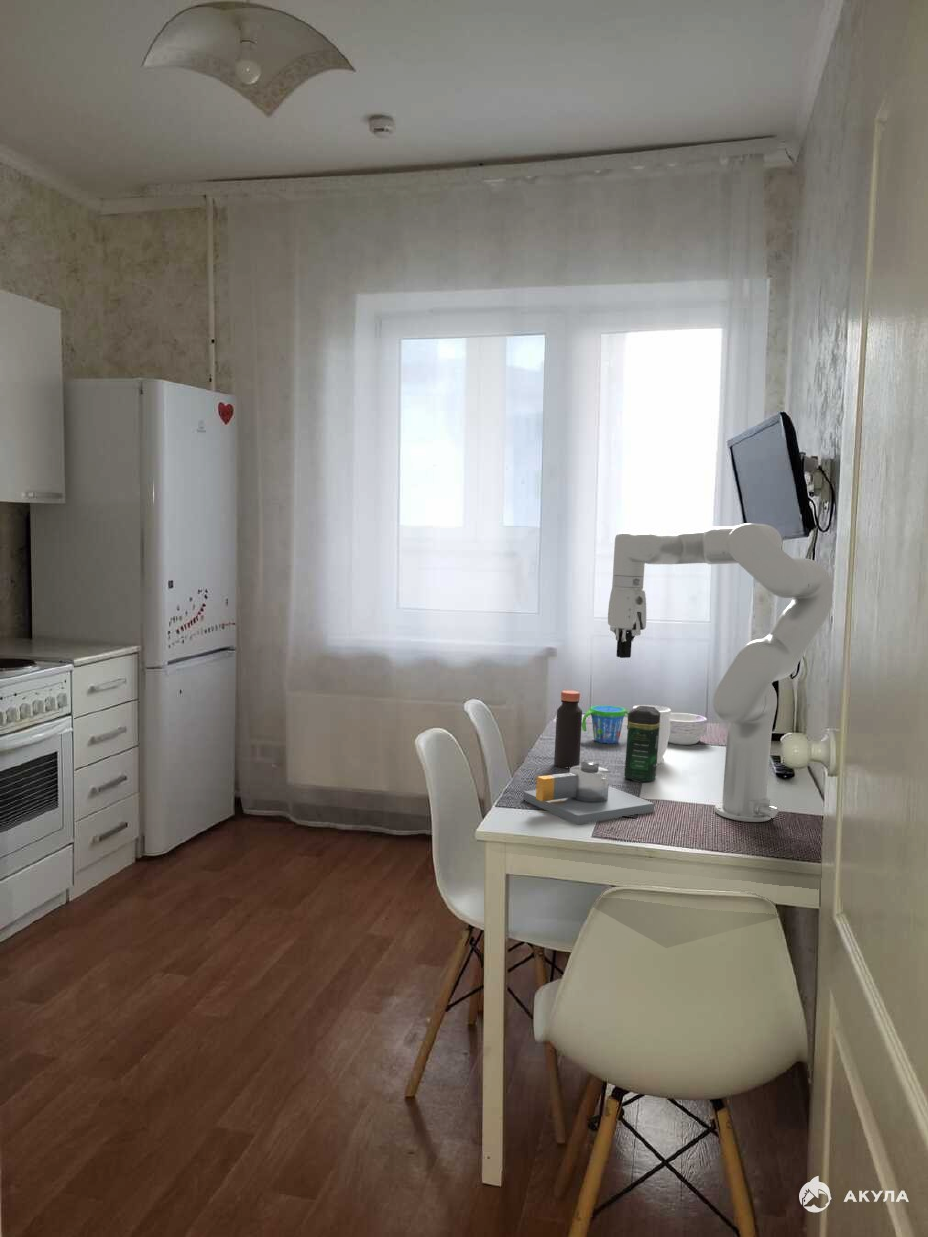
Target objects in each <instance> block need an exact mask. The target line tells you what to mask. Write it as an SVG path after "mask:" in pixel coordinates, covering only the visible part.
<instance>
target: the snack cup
mask: <svg viewBox="0 0 928 1237" xmlns="http://www.w3.org/2000/svg"><path fill="white" fill-rule="evenodd" d="M629 712H630V711H627V710H626V709H625V708H623V707H621V706H617V705H616V706H615V705H603V704H602V705H593V706H591V707H589V710H587V711H586V712H585V713H584V715H583V716H582V726H581V730H583V731H582V732H587V723H586V722H587V718H588V717H589V716H591V723H592V735H593V736H592V737H593V740H594V741H595V742H598V743H600V744H606V743H607V744H611V745H612V744H617V743H618V742H619V741H620V737H621V732H622V727H623V722H624V717H625V716H626V715H627V718H628V717H629ZM626 729H627V730H628V724H626Z"/></svg>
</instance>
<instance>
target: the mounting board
mask: <svg viewBox="0 0 928 1237" xmlns="http://www.w3.org/2000/svg"><path fill="white" fill-rule="evenodd" d="M522 796H523V797H522V798H523V799H522V800H523V801H524V800H525V802H527V803H529V804H531V805H534V806H535V807H538V808H540V809H541V810H545V811H547V812H549V813H551V814H553V815H556V816H558V817H560V818H562V819H564V820H566V821H569V822H571V823H573V824H575V825H577V826H578V825H583V824H584V825H585V824H589V822H590V823H596V822H601V821H608V820H613V819H614V818H615V819H619V817H621V818H623V817H622V816H627V817H629V816H628V815H633V814H639V815H644V814H649V813H654V812H655V803H654V802H651V801H650V800H649V801H648V800H646V799H645V798H641V797H639V796H636V795H634V794H630V793H628V792H626V791H623V790H620V789H617V788H615V787H613V786H610V785H609V791H608V799H607V800H605V801H600V802H587V801H580V800H576V799H573V798H564V799H557V800H550V801H544V802H542V801H540V800H538V799H536V789H532V790H525V791H523V795H522ZM633 816H634V815H633Z"/></svg>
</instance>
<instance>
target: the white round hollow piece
mask: <svg viewBox="0 0 928 1237" xmlns="http://www.w3.org/2000/svg"><path fill="white" fill-rule="evenodd" d="M669 719H670V735H669V740H668V743H669V744H674V745H682V746H683V745H685V746H689V745H690V746H691V745H696V744H697V743H698V742H699V741H700V739H701V737H703V736H706V735H707V734H708V732H707V731H708V718H707V717H705V716H703V715H699V714H694V713H686V712H671V713H670V714H669Z"/></svg>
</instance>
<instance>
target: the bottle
mask: <svg viewBox="0 0 928 1237" xmlns="http://www.w3.org/2000/svg"><path fill="white" fill-rule="evenodd" d="M580 695H581V693H580V691H577V690H562V691H561V693H560V702H561V705H560V706H559V707H558V708H556V717H555V718H556V720H555V721H556V723H555V724H556V725H555V738H554V756H553V757H554V758H553V762H554V763H553V764H554V765H555V766H556V767H558V768H562V767H568V768H567V769H570V768H571V767H574V766H580V764H581V762H580V761H581V743H582V742H581V741H582V720H583V710H582V709H581V707H579V703H580V697H581V696H580ZM569 767H570V768H569Z"/></svg>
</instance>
